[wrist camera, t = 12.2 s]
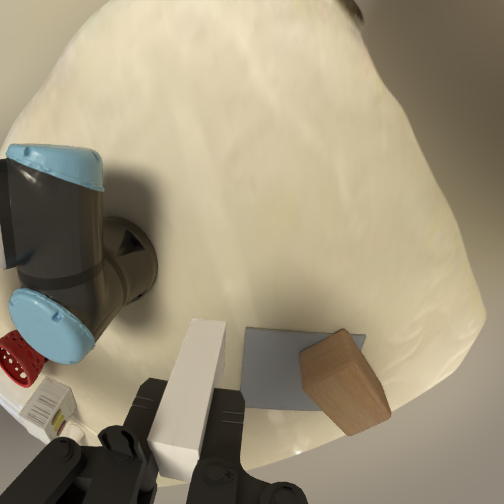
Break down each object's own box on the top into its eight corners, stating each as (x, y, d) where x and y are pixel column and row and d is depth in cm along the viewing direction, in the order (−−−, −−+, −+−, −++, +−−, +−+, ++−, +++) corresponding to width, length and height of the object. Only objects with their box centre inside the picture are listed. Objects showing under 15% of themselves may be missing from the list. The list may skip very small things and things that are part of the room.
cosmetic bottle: (81, 427, 72) (56, 477, 52) (87, 437, 75) (64, 484, 54) (67, 421, 72) (41, 469, 52) (72, 431, 75) (49, 477, 54)
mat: (239, 404, 60) (238, 406, 59) (246, 326, 52) (245, 328, 51) (336, 408, 60) (336, 410, 59) (365, 334, 51) (366, 336, 51)
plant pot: (41, 319, 56) (13, 349, 45) (61, 362, 61) (39, 393, 49) (11, 316, 57) (-16, 341, 46) (30, 356, 62) (8, 383, 50)
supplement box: (77, 407, 68) (54, 448, 52) (53, 395, 67) (28, 433, 52) (70, 387, 64) (43, 430, 48) (45, 375, 64) (17, 414, 48)
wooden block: (344, 325, 50) (381, 383, 55) (296, 351, 53) (341, 403, 58) (357, 363, 41) (393, 418, 46) (299, 390, 43) (348, 439, 49)
